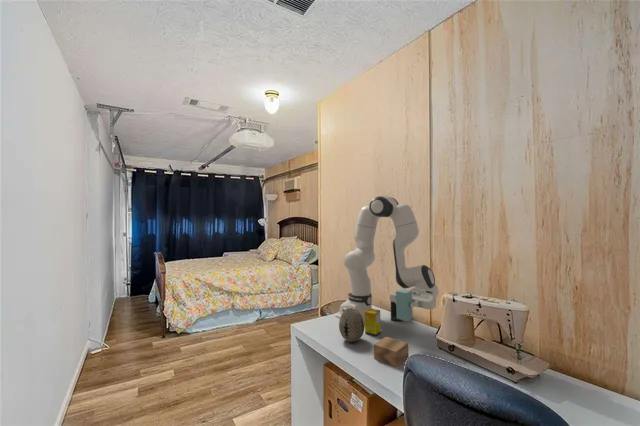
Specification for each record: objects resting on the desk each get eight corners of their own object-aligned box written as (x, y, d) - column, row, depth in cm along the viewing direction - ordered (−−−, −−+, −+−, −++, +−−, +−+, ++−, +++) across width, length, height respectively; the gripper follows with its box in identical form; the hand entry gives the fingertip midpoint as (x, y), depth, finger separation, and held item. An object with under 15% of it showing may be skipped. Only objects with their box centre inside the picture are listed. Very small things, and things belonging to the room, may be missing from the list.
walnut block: (374, 359, 118) (373, 344, 118) (386, 350, 125) (386, 336, 125) (396, 367, 111) (396, 351, 111) (408, 357, 118) (408, 342, 118)
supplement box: (370, 329, 148) (369, 308, 148) (381, 332, 144) (380, 310, 144) (364, 333, 143) (364, 311, 143) (376, 336, 139) (375, 313, 139)
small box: (403, 321, 157) (402, 302, 157) (391, 321, 159) (390, 301, 159) (401, 315, 168) (401, 296, 168) (390, 314, 169) (389, 296, 169)
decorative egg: (368, 338, 137) (367, 306, 137) (358, 348, 127) (357, 314, 127) (346, 333, 143) (345, 303, 143) (334, 342, 133) (334, 310, 133)
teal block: (396, 318, 128) (395, 291, 128) (402, 315, 131) (401, 288, 132) (407, 321, 124) (406, 293, 124) (412, 318, 128) (411, 290, 128)
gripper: (397, 286, 144) (382, 292, 135) (438, 293, 130) (425, 301, 120) (398, 299, 144) (382, 306, 135) (439, 308, 130) (425, 316, 120)
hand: (403, 303), depth 127 cm, fingers closed on teal block, 5 cm apart
